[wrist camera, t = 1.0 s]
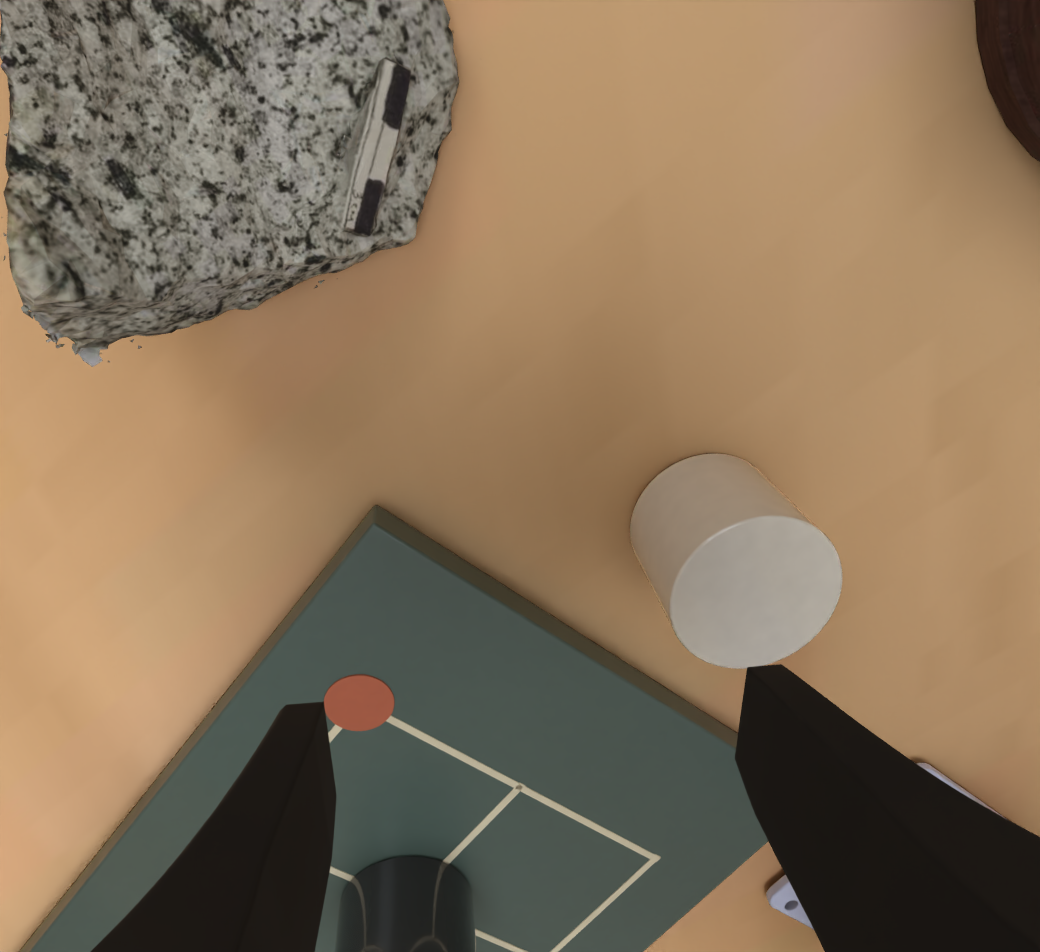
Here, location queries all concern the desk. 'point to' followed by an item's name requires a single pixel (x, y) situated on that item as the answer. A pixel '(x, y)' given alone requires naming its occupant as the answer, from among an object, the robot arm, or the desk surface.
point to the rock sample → (211, 151)
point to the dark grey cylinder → (407, 908)
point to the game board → (458, 761)
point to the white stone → (734, 562)
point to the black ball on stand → (1013, 64)
